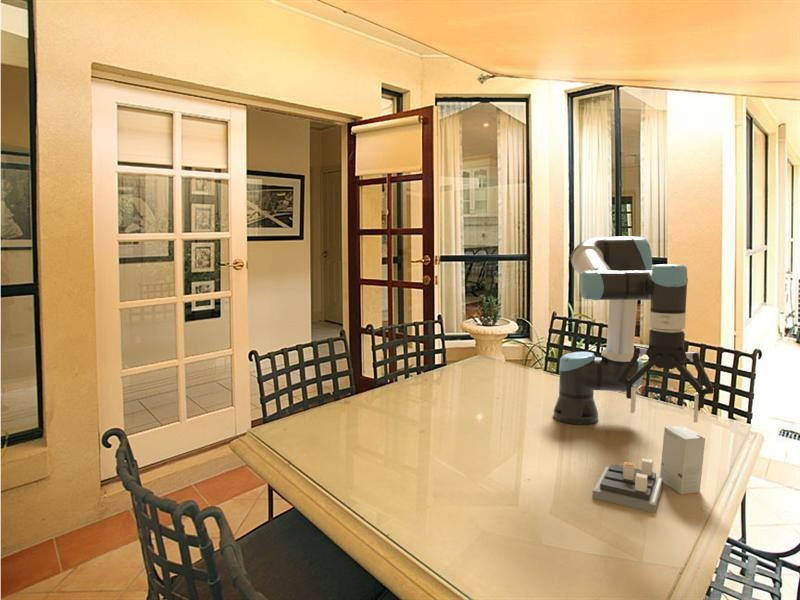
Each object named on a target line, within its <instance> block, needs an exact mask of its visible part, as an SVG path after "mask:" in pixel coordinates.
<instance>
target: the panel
mask: <svg viewBox="0 0 800 600" xmlns="http://www.w3.org/2000/svg"><path fill="white" fill-rule="evenodd" d="M637 473H639V474H641V468H640V469H639V468H635V476H636V474H637ZM663 484H664V482H663V478H662V477H660V476H657V472H654V471H652V475H651V476H649V475H648V478H647V491H646V492H642V491H637V490H635V478H634V480H628V479H624V478H623V465H620V464H615V463H610V465H609V466H607V465H605V467H604V469H603V471H602V472H601V474H600V476H599V478H598V479H597V482H596V483H595V486H594V487H593V489H592V499H595V500H599V501H603V502H608V503H612V504H616V505H619V506H623V507H624V506H625V507H628V508H633V509H636V510H640V511H645V512H648V513H654V514H656V512H657V511H656V510H657V506H658V503H659V501H660V496H661V492H662V489H663Z"/></svg>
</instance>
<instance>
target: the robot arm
mask: <svg viewBox="0 0 800 600" xmlns="http://www.w3.org/2000/svg"><path fill="white" fill-rule="evenodd" d="M652 256H653V255H652V249H651V247H650V243H649V241H648V240H647V238H645V237H644V236H643V237H642V236H633V235H632V236H611V237H610V236H609V237H608V236H607V237H605V236H603V237H602V236H597V237H591V238H589V239H586V240H584V241H582V242H580V243H579V244H577V246H575V248H574V249H573V250H572V252H571V256H570V263H571V266H572V268H573V270H574V271H576V272H577V273H578V274H579V275H580V277H579V280H580V281H579V292H580V297H581V298H582V299H583V300H593V301H601V300H602V301H603V300H604V301H609V303H608V305H609V306H608V319H607V334H606V337H607V338H606V347H605V348H604V349H603V350H602V351H601V353H600V354H601V356H596V355H595V353H594V352H592V351H591V352H590V351H573V352H568V353H565V354H564V355H562V356H561V357H560V358H559V367H558V371H559V384H558V385H559V386H558V398H557V400H556V403H555V404H554V408H553V417H554V418H555V419H556V420H557V419H558V421H559V420H560V421H559V422H562V423H565V422H566V424H570V423H571V425H582V426H584V425H591V424H595V423H597V422H598V421H599V411H598V408H597V405H596V402H595V399H594V391H605V392H606V391H607V392H608V391H609V392H620V393H621V392H622V393H625V392H626V399H630V411H629V412H630V414H635V411H636V405H637V403H636V401H637V390H638V388H639V387H640V385H641V383H642V379H643V375H645V374H646V373H647V372H648V371H649V370H651V369H652V368H653V367H654V366H655V367H656V368H657V369H668V370H674V369H676V370H677V371H678V373H681V375H682V376H683V377H684V379H685V380H686V381H687V382H688V383H689V384H690V385H691V387H693V390H695V391H696V392H695V393H694V402H693V403H694V404H693V405H694V406H693V423H695V424H696V423H698V420H699V419H698V418H699V409H704V407H705V396H706V395H712V394H714V393H715V389H714V386H713V384H712V381H711V380H710V378H709V376H708V374H707V372H706V370H705V367H703V365H702V363H701V359H700V353H699V351H697V350H695V351H689V352H688V351H686V350H685V341H686V340H685V337H686V333H685V331H684V329H686V319H687V318H686V315H687V313H686V311H687V310H686V309H687V293H688V292H687V291H688V283H689V278H688V268H687V266H686V265H685V264H675V263H674V264H673V263H668V264H667V263H662V264H661V263H660V264H654V265H653V257H652ZM638 301H650V309H649V327H650V328H651V329H650V330H649V331H648V334H649V335H648V348H645V347H644V348H642V347H641V346H640V345H637V346H636V347H635V335H636V324H637V323H636V322H637V311H638V309H637V308H638ZM645 354H646V356H647V357H648V359H649V360H648V361H647V362H646V364H644V365H643V362H642V359H641V357H643V356H644V355H645ZM686 358H688V361H690V362H692V363H693V365H694V367H695V370H696V372H697V373H698V376H699V378H700V380H701V381H702V383H703V385H704V387H703V385H702V384H701V383H700V382H699V381H698V380H697V379H696V377H694V375H693V374H692V373H691V372H690V370H689V369H688V368H687V367H686V366H685V364H684V363H683V361H684V360H685V359H686Z"/></svg>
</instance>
